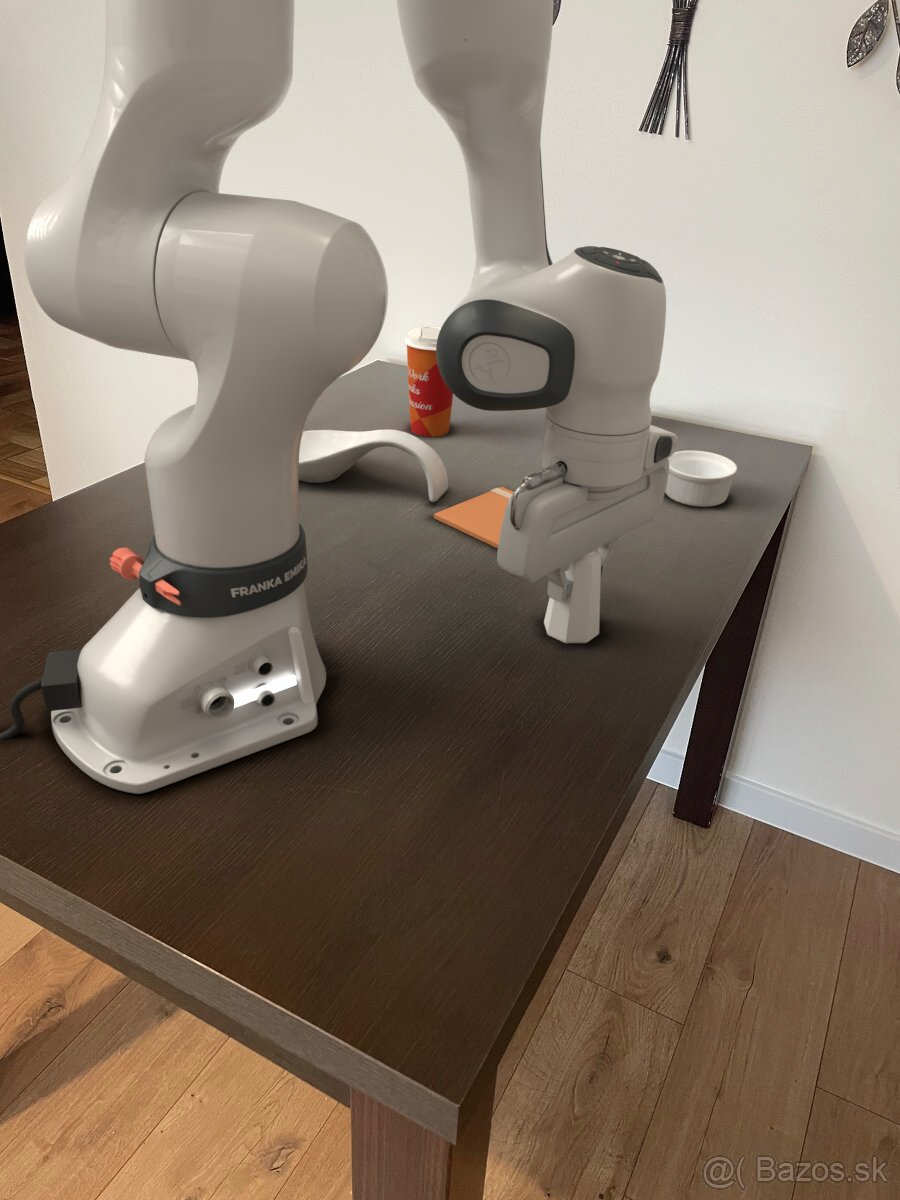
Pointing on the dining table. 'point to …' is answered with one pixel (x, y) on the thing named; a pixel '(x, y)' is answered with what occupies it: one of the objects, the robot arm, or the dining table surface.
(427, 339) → the paper cup
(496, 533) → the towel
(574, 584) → the pepper shaker
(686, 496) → the ramekin
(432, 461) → the spoon rest
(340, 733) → the dining table surface
